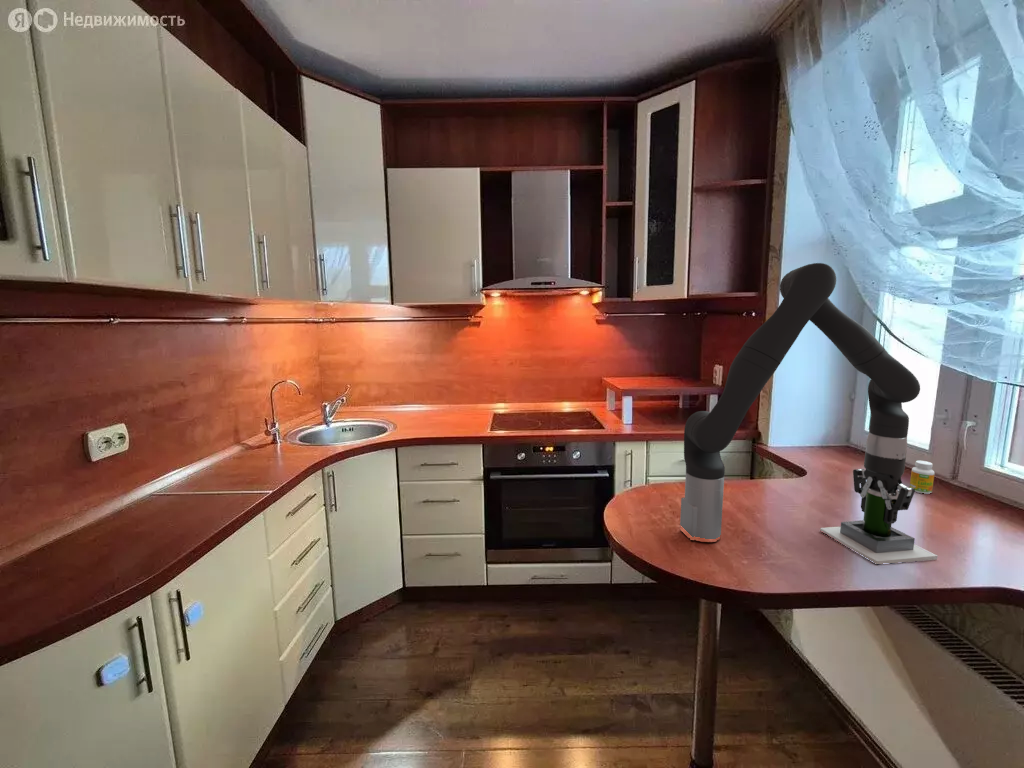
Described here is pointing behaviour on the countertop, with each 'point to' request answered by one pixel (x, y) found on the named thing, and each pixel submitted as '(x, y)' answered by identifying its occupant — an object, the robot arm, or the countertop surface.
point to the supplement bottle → (922, 477)
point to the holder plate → (881, 558)
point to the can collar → (877, 545)
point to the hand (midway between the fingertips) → (877, 517)
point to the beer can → (875, 514)
